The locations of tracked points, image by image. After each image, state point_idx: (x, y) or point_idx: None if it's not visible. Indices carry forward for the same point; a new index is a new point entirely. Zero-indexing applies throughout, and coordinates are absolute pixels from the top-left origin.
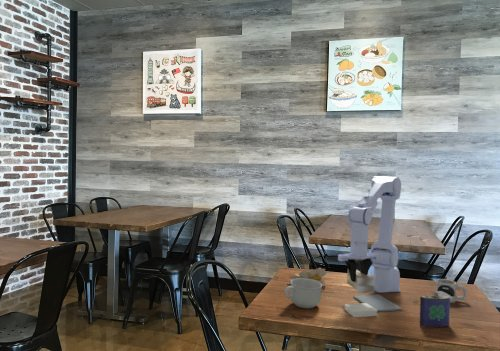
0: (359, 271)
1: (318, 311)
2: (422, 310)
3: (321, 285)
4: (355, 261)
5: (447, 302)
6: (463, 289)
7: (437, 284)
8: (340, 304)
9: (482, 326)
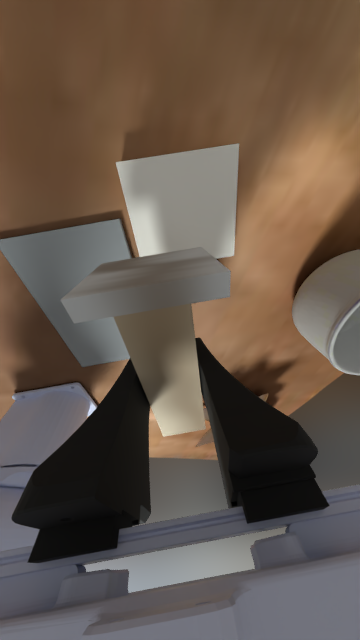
0: (154, 411)
1: (323, 233)
2: None
3: (354, 310)
4: (234, 489)
5: None
6: None
7: None
8: (218, 299)
9: None
